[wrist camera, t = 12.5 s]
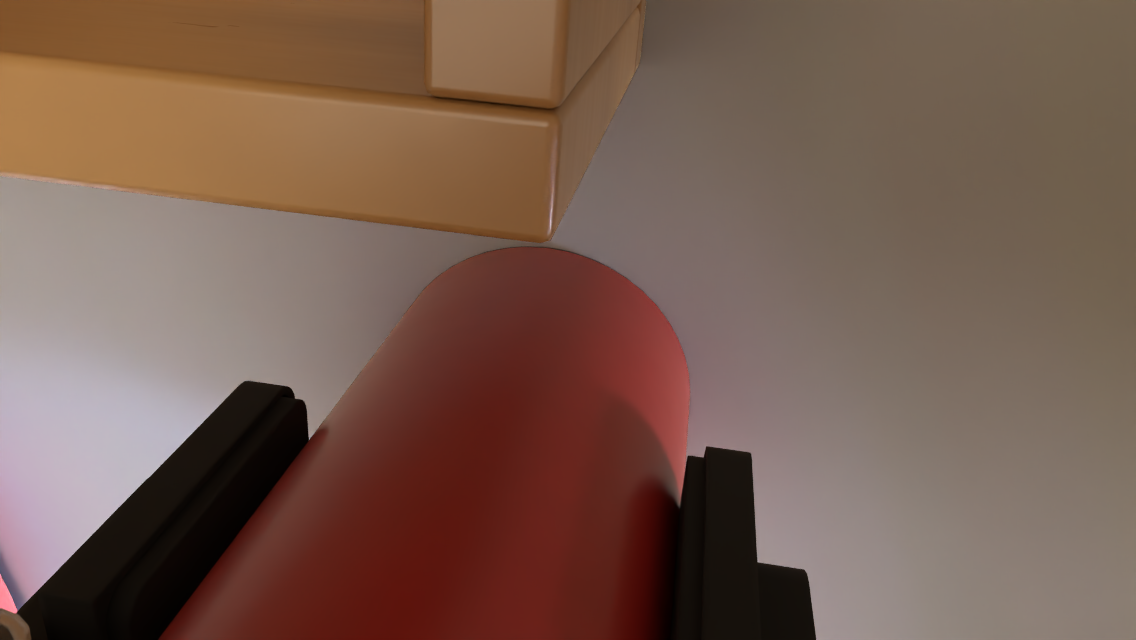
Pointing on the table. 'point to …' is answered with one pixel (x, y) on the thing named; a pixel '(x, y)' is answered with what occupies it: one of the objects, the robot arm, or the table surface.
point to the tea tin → (479, 475)
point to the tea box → (321, 103)
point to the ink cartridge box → (6, 598)
